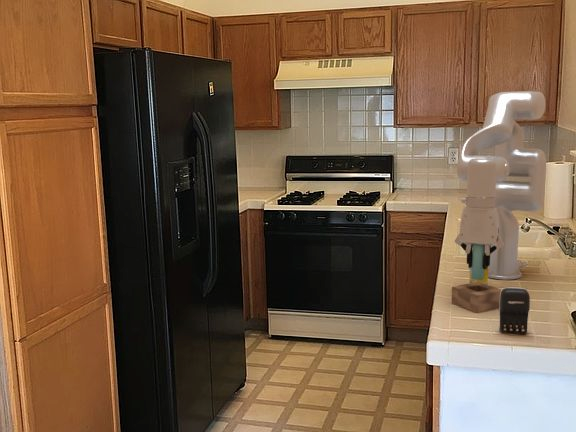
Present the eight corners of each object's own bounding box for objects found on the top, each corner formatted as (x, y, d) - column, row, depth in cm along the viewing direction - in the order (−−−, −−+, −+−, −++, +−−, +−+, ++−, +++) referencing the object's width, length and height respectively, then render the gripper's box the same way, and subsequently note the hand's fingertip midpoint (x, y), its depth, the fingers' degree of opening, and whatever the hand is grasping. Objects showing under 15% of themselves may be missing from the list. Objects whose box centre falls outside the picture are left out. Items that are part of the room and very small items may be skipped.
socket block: (477, 298, 187) (478, 281, 186) (503, 307, 178) (503, 290, 177) (451, 303, 182) (451, 286, 181) (476, 313, 173) (477, 295, 172)
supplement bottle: (490, 287, 197) (492, 255, 196) (482, 291, 193) (483, 258, 192) (474, 284, 201) (475, 252, 199) (465, 288, 197) (466, 256, 195)
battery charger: (499, 334, 157) (501, 290, 155) (497, 329, 160) (499, 286, 159) (529, 336, 155) (531, 291, 153) (526, 331, 159) (529, 287, 157)
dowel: (481, 276, 180) (483, 235, 178) (485, 279, 176) (487, 237, 175) (469, 276, 180) (471, 235, 178) (473, 279, 176) (475, 237, 174)
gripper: (447, 203, 175) (445, 267, 178) (509, 206, 168) (506, 273, 170) (454, 199, 182) (452, 261, 185) (514, 203, 174) (511, 267, 177)
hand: (478, 266), depth 178 cm, fingers closed on dowel, 3 cm apart
